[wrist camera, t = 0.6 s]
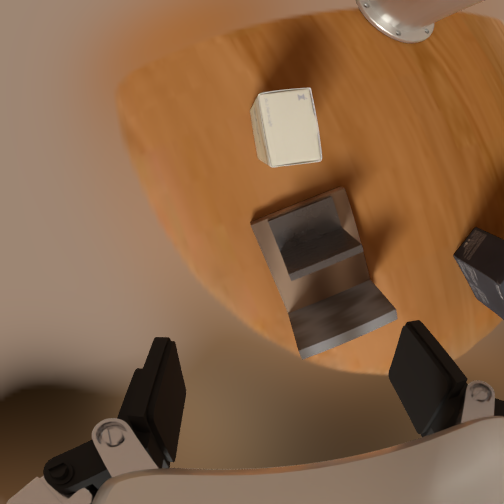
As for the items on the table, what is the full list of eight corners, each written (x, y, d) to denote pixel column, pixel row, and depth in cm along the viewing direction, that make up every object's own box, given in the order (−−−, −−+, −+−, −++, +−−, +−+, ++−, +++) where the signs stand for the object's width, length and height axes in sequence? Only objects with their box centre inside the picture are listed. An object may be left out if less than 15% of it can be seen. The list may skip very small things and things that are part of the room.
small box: (496, 272, 41) (537, 300, 30) (475, 298, 42) (514, 331, 31) (475, 224, 37) (526, 249, 26) (451, 254, 39) (499, 287, 28)
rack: (340, 186, 35) (372, 200, 26) (370, 292, 40) (398, 328, 31) (250, 222, 36) (254, 248, 27) (293, 323, 41) (306, 367, 32)
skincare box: (249, 109, 31) (254, 90, 20) (287, 104, 31) (311, 84, 20) (258, 161, 33) (268, 169, 22) (295, 156, 33) (323, 161, 22)
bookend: (330, 195, 34) (351, 207, 27) (342, 231, 35) (363, 251, 29) (267, 220, 34) (274, 238, 28) (281, 256, 36) (291, 281, 29)
